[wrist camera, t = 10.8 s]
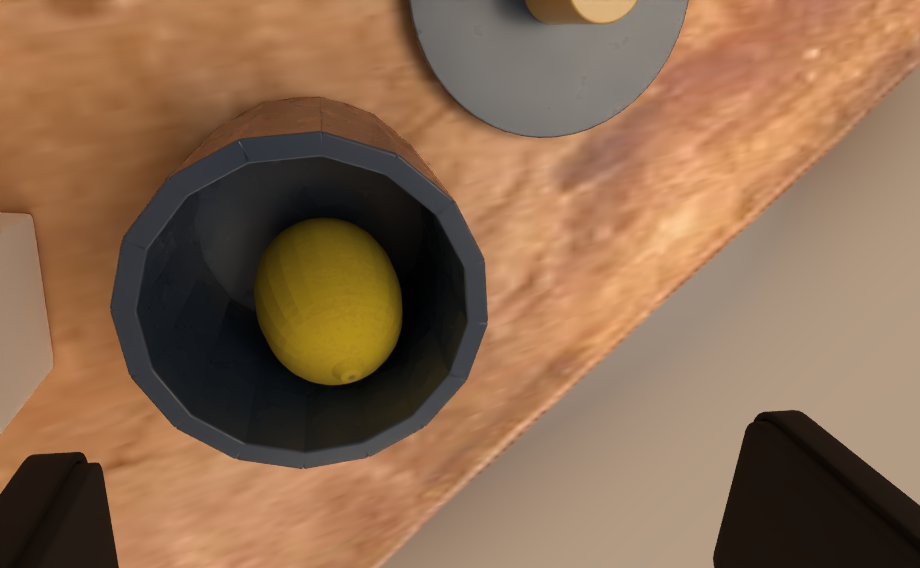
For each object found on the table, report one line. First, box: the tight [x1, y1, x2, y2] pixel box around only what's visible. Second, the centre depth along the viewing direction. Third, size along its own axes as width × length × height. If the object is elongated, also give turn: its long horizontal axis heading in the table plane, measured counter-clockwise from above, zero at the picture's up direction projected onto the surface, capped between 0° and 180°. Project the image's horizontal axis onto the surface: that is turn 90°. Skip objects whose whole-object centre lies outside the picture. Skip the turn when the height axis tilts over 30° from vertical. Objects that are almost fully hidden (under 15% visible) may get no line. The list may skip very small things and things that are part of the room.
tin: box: [110, 97, 488, 469], centre depth 24 cm, size 11×11×10 cm
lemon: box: [254, 217, 402, 385], centre depth 25 cm, size 6×6×8 cm
